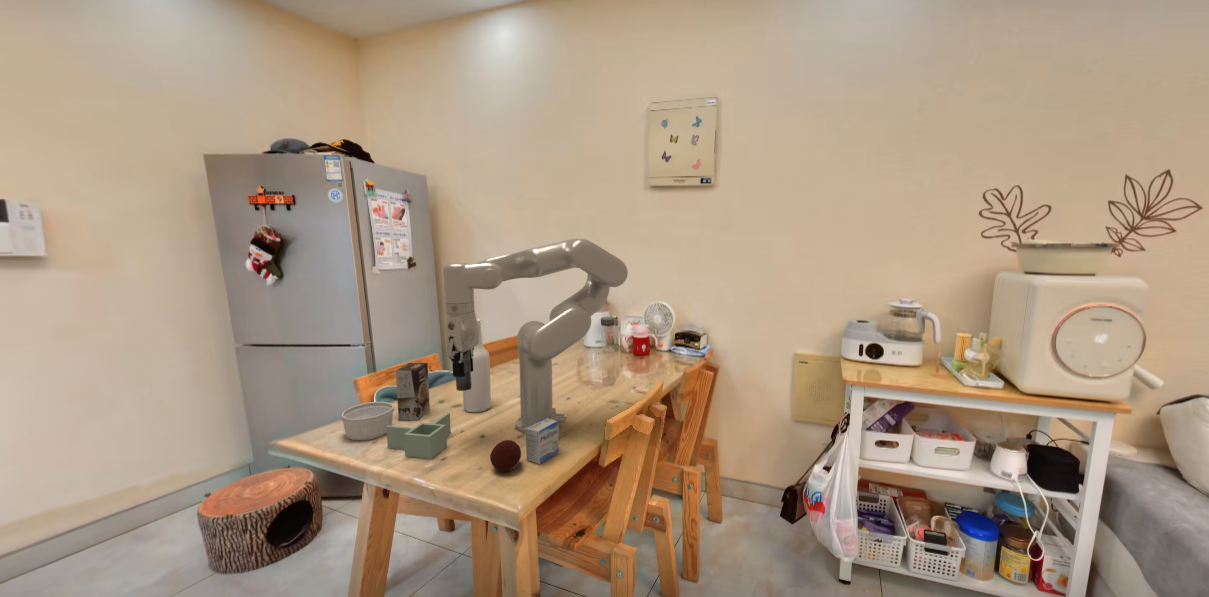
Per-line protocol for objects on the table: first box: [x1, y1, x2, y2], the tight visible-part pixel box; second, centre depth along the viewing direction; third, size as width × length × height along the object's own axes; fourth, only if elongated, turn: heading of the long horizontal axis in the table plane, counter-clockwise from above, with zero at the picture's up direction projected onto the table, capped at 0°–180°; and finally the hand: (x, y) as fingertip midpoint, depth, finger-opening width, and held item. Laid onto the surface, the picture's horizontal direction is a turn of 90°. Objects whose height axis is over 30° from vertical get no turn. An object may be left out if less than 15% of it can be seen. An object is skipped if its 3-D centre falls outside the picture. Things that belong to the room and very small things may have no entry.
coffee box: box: [395, 362, 431, 422], centre depth 136 cm, size 9×6×16 cm
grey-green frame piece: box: [386, 412, 452, 460], centre depth 117 cm, size 15×15×6 cm
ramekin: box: [341, 401, 395, 441], centre depth 124 cm, size 13×13×7 cm
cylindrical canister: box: [455, 349, 472, 392], centre depth 118 cm, size 4×4×12 cm
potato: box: [489, 439, 522, 473], centre depth 104 cm, size 7×8×7 cm
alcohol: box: [462, 318, 492, 414], centre depth 141 cm, size 9×9×30 cm
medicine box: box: [525, 418, 560, 465], centre depth 110 cm, size 8×4×9 cm, turn 148°
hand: (463, 373), depth 118 cm, fingers closed on cylindrical canister, 4 cm apart
